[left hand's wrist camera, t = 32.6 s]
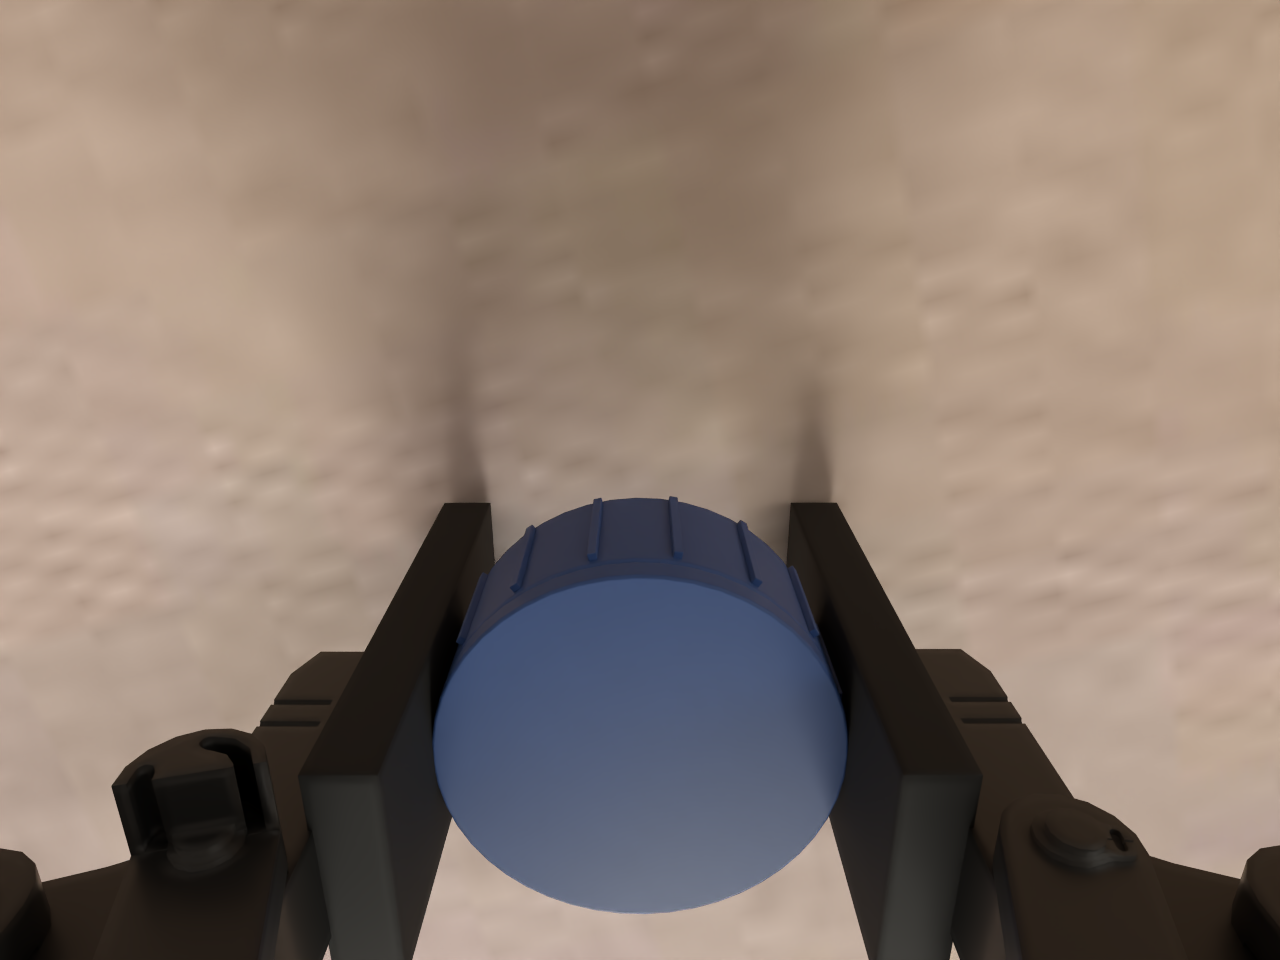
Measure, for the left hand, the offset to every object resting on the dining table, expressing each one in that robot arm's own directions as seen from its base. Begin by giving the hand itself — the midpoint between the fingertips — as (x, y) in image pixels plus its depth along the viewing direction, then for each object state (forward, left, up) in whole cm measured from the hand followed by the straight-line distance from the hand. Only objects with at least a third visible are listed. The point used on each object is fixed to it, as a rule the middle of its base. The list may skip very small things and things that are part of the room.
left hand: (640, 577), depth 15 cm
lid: (0, 0, +4) cm, 4 cm away
